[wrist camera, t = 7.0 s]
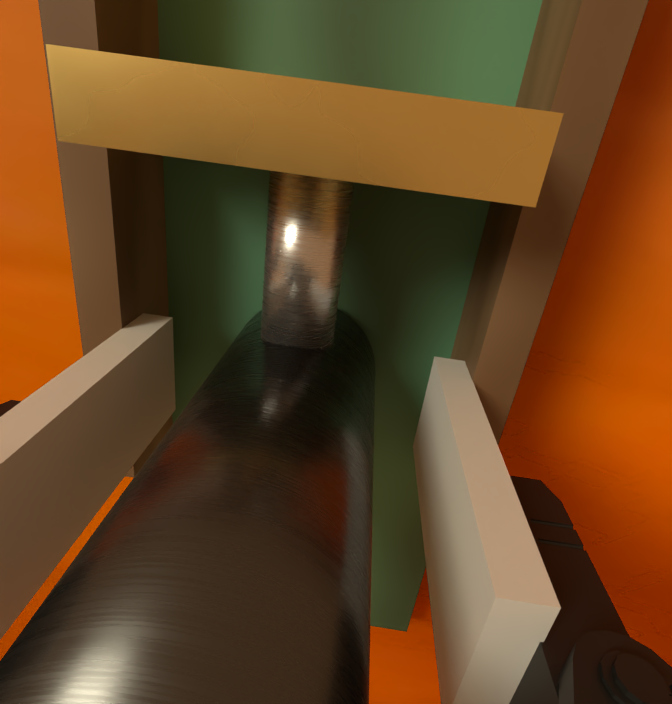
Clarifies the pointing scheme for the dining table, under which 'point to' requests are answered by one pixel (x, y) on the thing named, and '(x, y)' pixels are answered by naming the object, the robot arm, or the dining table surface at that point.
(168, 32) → the lane
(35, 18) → the dining table surface
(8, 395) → the dining table surface
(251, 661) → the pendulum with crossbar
